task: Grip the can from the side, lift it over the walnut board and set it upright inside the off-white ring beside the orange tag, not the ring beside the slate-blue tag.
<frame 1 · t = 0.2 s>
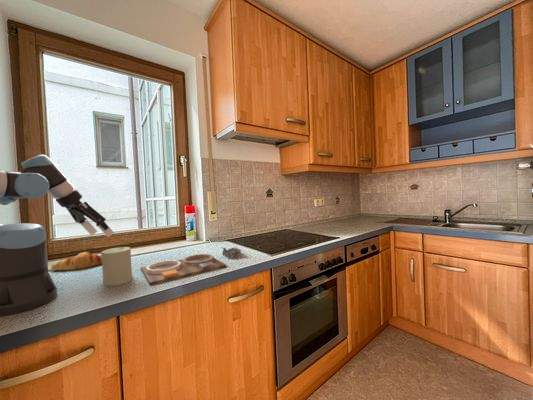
hand: (102, 234, 100), 15 cm above the worktop, tool tilted 35°, fingers open, 13 cm apart
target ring: (164, 271, 94), resting on walnut board
croissant: (82, 267, 104), on the worktop
egg carton: (232, 256, 114), on the worktop
can: (118, 281, 85), on the worktop
walnut board: (182, 267, 99), on the worktop
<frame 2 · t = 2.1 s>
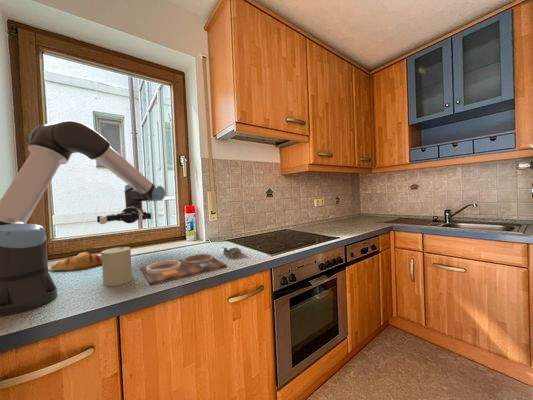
hand: (121, 219, 93), 22 cm above the worktop, tool horizontal, fingers open, 13 cm apart
nothing on the worktop moved.
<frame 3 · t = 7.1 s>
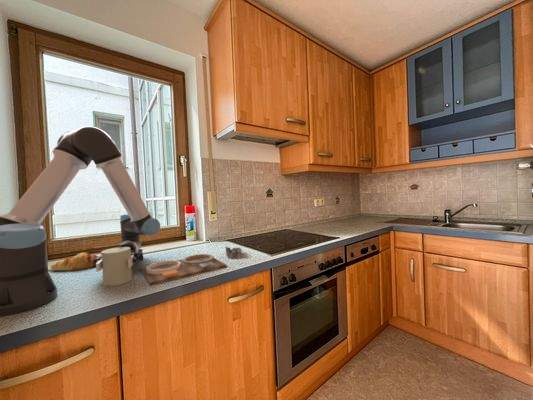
hand: (113, 265, 81), 7 cm above the worktop, tool horizontal, fingers closed on can, 9 cm apart
can: (118, 281, 85), on the worktop, touching gripper
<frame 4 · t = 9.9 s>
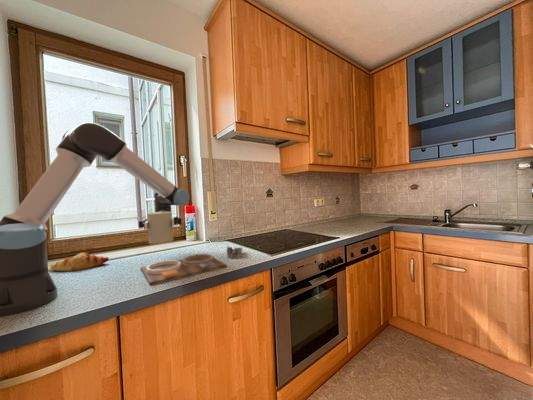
hand: (159, 225, 89), 19 cm above the worktop, tool horizontal, fingers closed on can, 9 cm apart
can: (161, 241, 94), point 12 cm above the worktop, touching gripper
when the fingers open (9 cm above the worktop, at t = 12.7 s): can drops 1 cm, resting on walnut board.
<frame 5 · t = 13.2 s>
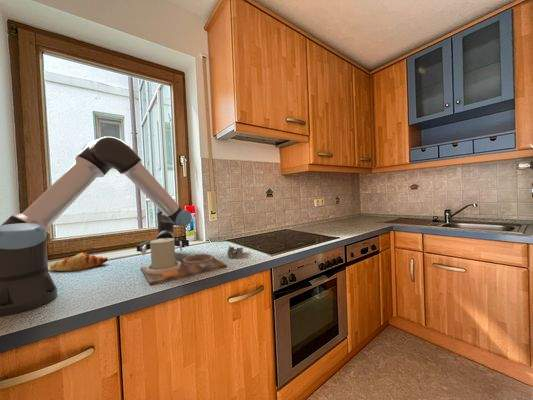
hand: (162, 249, 91), 10 cm above the worktop, tool horizontal, fingers open, 13 cm apart
can: (164, 268, 94), point 1 cm above the worktop, touching walnut board
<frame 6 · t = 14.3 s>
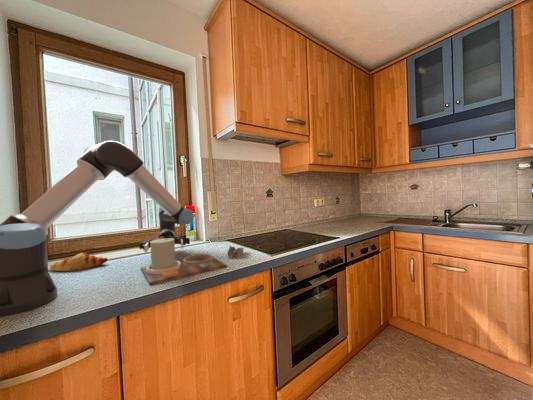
hand: (164, 247, 94), 10 cm above the worktop, tool horizontal, fingers open, 13 cm apart
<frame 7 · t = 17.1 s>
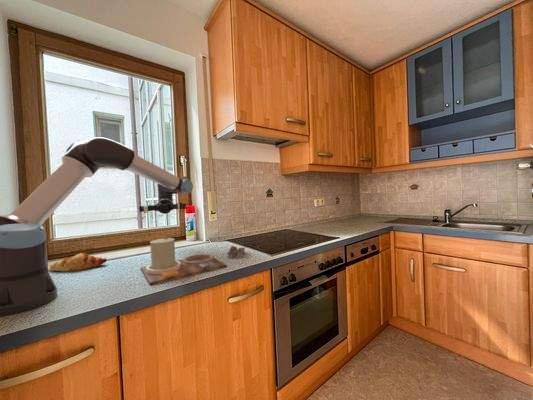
hand: (162, 208, 102), 25 cm above the worktop, tool horizontal, fingers open, 13 cm apart
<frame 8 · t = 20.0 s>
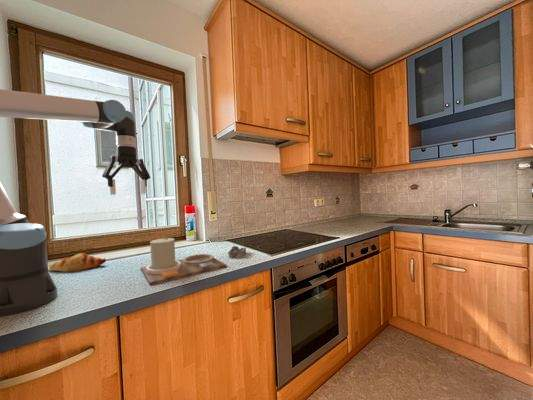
hand: (129, 194, 105), 32 cm above the worktop, tool pointing down, fingers open, 13 cm apart
at the end: can 0.2 cm from the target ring (horizontally); can tilted 0°; the gripper is holding nothing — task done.
